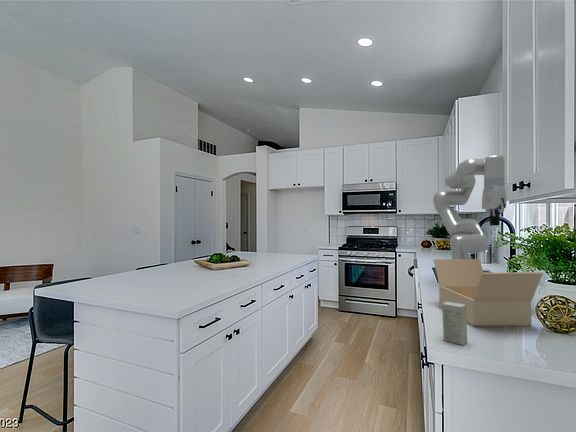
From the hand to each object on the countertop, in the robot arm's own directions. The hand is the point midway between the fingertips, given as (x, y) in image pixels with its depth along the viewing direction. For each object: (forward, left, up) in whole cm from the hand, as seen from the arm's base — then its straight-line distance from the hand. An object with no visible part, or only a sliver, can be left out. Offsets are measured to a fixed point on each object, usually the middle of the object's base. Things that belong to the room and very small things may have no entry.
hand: (494, 225), depth 133 cm
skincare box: (+32, -37, -37) cm, 62 cm away
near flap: (-6, -12, -22) cm, 25 cm away
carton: (+8, -12, -37) cm, 40 cm away
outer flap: (+23, -12, -22) cm, 34 cm away
